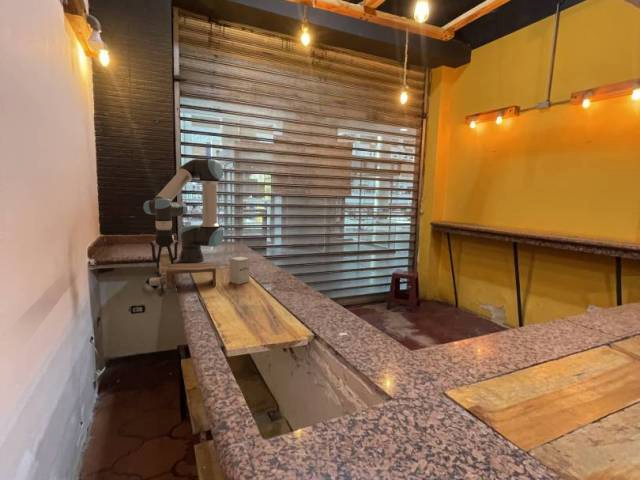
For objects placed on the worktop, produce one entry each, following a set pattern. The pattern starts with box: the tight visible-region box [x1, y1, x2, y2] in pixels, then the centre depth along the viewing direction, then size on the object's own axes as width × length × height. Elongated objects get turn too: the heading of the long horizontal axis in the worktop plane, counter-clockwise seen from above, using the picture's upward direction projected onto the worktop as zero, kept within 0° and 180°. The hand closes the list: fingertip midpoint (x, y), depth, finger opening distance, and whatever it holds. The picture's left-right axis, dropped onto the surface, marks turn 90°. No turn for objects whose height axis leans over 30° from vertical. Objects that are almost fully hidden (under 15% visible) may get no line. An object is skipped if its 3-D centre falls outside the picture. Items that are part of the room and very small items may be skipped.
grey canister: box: [229, 256, 250, 285], centre depth 172 cm, size 7×7×13 cm
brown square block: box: [148, 276, 161, 287], centre depth 163 cm, size 5×5×3 cm
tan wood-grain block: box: [159, 252, 171, 286], centre depth 167 cm, size 17×4×12 cm, turn 20°
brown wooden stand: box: [166, 262, 217, 290], centre depth 165 cm, size 14×22×9 cm, turn 109°
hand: (165, 273), depth 173 cm, fingers closed on tan wood-grain block, 4 cm apart
